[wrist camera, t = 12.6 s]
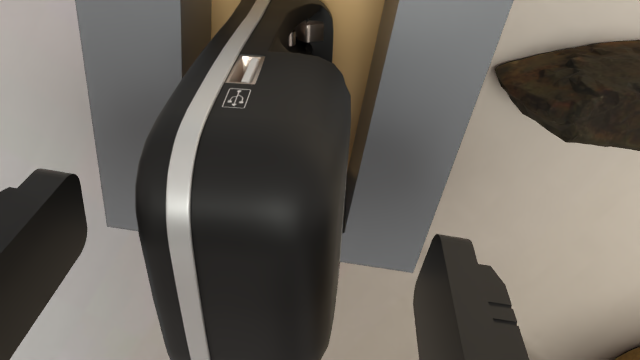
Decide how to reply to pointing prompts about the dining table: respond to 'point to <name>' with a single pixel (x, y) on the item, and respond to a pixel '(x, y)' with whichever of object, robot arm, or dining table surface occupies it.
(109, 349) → the dining table surface
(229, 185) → the battery charger
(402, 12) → the dock
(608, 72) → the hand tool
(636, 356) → the plant pot
